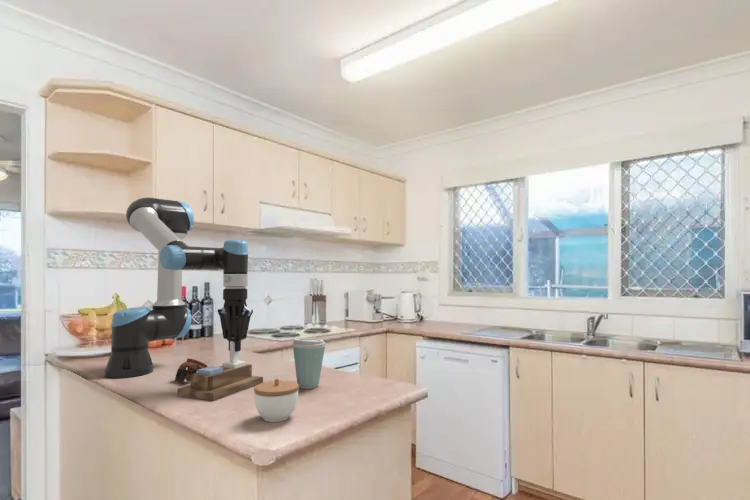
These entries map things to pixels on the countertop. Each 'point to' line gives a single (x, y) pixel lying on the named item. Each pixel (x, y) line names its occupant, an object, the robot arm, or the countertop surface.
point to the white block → (234, 364)
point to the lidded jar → (276, 399)
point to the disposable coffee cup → (308, 361)
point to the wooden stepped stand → (220, 383)
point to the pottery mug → (188, 370)
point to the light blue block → (210, 370)
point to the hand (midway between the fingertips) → (234, 361)
